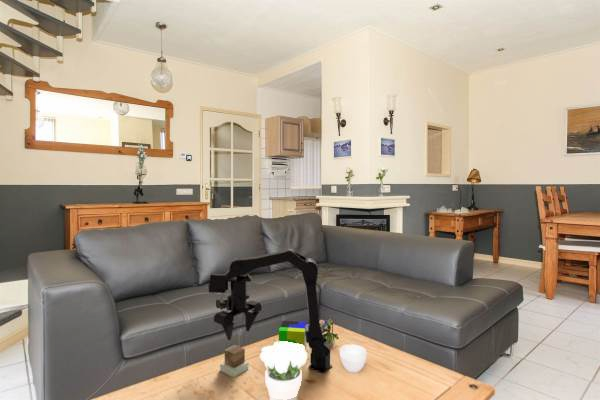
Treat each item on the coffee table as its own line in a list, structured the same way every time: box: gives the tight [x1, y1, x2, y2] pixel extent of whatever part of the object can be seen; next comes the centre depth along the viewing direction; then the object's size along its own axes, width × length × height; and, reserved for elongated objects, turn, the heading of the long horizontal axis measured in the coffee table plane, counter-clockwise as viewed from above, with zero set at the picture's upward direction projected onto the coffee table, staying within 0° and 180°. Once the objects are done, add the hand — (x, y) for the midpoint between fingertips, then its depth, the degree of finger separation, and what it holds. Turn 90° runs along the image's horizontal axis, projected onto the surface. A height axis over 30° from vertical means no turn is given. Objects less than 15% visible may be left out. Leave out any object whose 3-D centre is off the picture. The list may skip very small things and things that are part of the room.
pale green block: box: [219, 360, 249, 378], centre depth 131 cm, size 7×7×2 cm
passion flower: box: [319, 318, 340, 345], centre depth 155 cm, size 11×11×12 cm
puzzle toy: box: [278, 320, 308, 348], centre depth 146 cm, size 10×10×10 cm
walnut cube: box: [224, 344, 246, 368], centre depth 130 cm, size 5×5×5 cm
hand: (238, 335), depth 132 cm, fingers open, 9 cm apart
